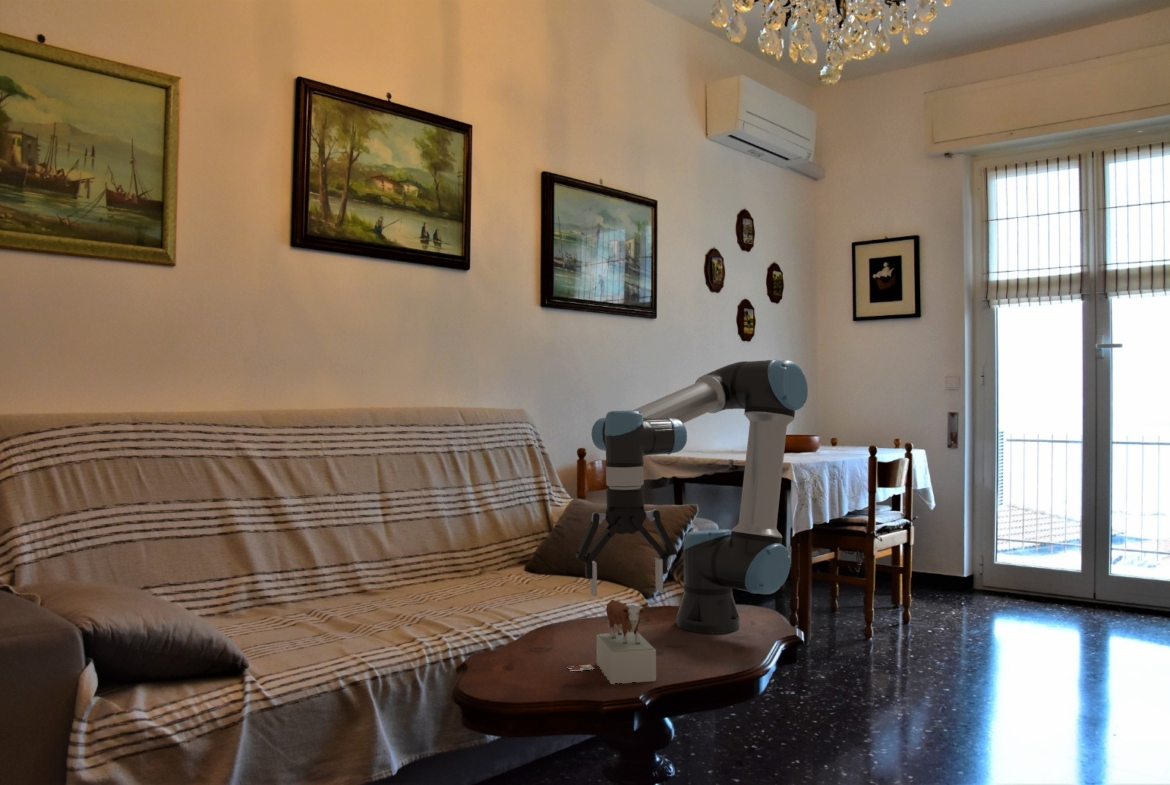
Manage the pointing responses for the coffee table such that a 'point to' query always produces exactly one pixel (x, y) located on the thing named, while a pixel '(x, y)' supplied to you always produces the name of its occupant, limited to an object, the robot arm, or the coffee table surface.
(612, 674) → the plinth
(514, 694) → the coffee table surface
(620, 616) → the bull figurine
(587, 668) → the page
